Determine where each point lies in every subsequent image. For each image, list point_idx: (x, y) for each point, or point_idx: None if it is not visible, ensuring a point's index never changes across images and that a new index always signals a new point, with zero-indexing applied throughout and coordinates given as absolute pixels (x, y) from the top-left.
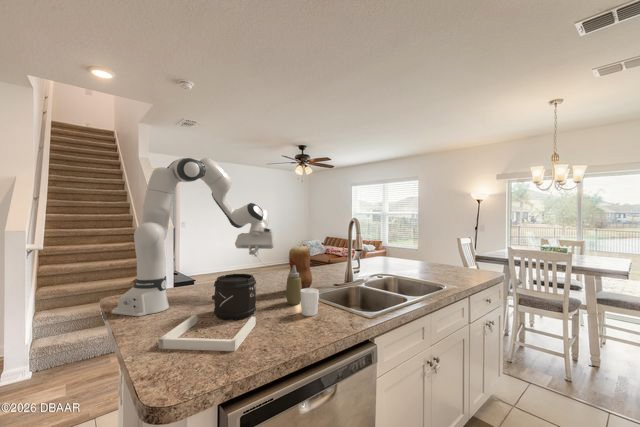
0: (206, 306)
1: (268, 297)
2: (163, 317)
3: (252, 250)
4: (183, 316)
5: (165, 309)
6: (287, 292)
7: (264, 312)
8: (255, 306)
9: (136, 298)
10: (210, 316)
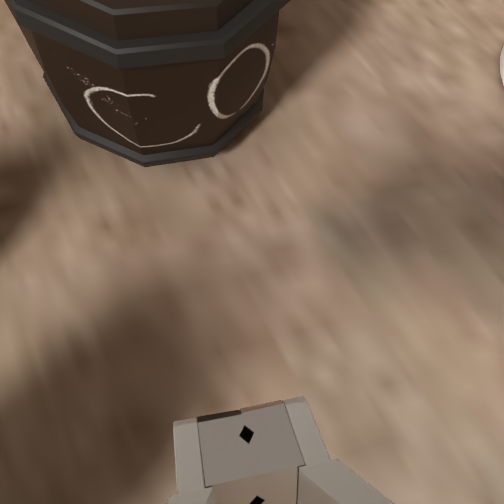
0: (367, 157)
1: (86, 407)
2: (435, 9)
3: (247, 465)
4: (369, 27)
5: (501, 76)
6: None
7: (15, 122)
8: (54, 92)
9: None
10: None
